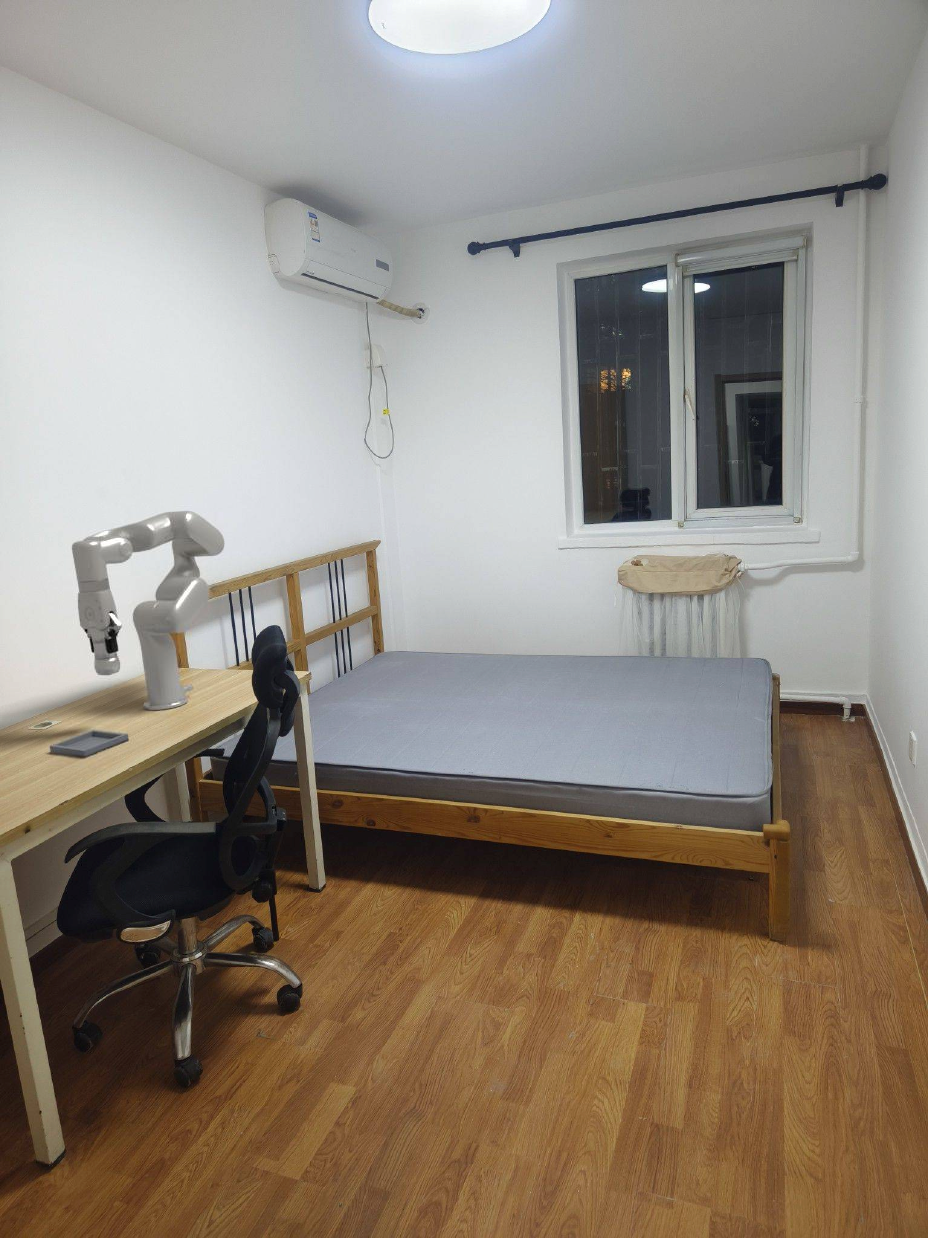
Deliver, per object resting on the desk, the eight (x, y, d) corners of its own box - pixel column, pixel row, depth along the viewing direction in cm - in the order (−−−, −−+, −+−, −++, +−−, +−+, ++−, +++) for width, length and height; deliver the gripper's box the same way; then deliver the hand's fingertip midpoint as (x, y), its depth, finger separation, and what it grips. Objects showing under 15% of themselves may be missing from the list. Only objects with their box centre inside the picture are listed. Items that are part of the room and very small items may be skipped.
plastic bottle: (94, 679, 211) (81, 606, 207) (98, 673, 218) (86, 602, 214) (119, 675, 213) (107, 603, 209) (123, 669, 219) (111, 599, 215)
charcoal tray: (94, 736, 210) (93, 729, 210) (128, 740, 205) (127, 734, 204) (50, 752, 199) (49, 746, 199) (85, 758, 193) (84, 751, 193)
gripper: (60, 588, 211) (72, 654, 215) (104, 589, 203) (115, 657, 207) (84, 583, 217) (95, 647, 221) (128, 584, 210) (138, 650, 213)
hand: (105, 651), depth 214 cm, fingers closed on plastic bottle, 5 cm apart
